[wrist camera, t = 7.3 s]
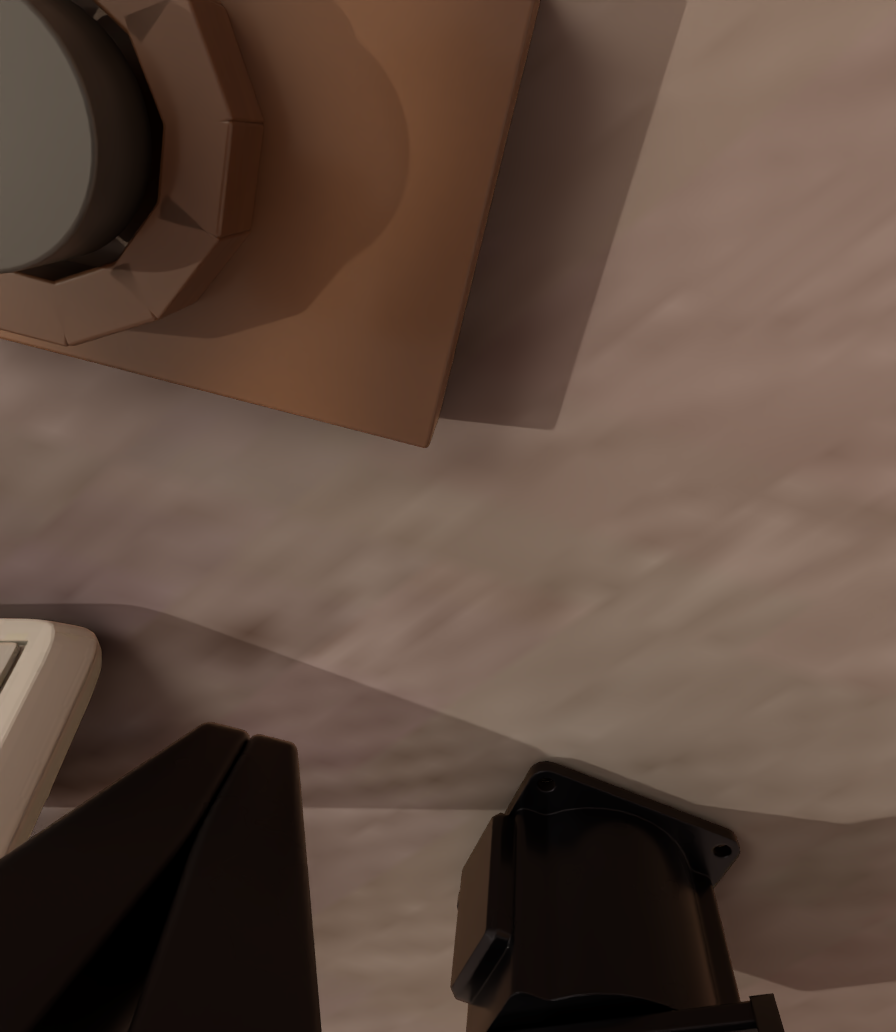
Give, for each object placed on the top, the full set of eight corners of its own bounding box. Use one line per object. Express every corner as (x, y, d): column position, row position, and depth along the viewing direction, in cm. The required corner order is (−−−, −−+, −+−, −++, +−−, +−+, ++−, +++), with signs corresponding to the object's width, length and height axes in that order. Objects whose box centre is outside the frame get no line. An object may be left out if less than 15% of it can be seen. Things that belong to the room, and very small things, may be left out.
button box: (544, -14, 16) (546, -63, 12) (438, 419, 19) (416, 481, 16) (-63, -175, 16) (-245, -274, 12) (-50, 292, 19) (-185, 326, 16)
